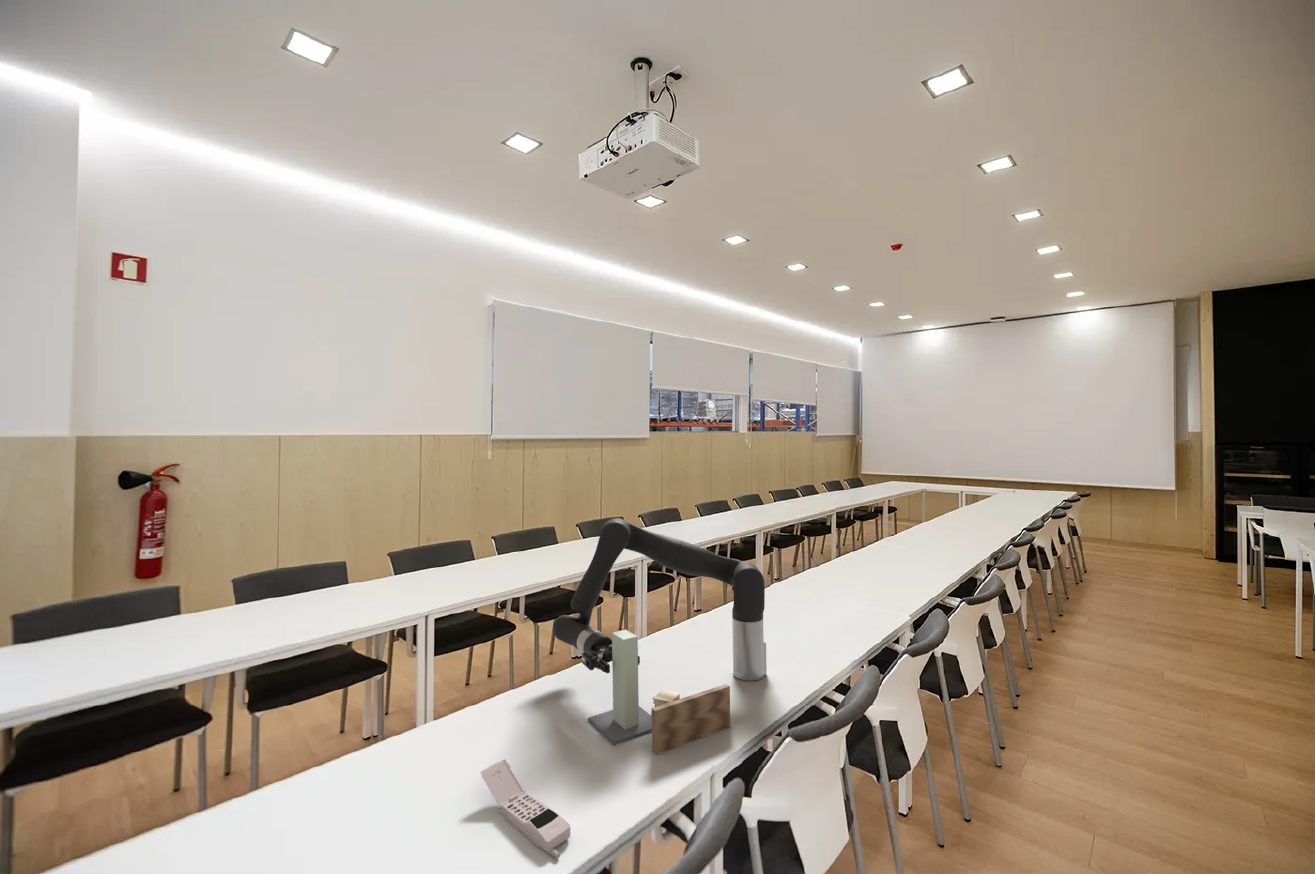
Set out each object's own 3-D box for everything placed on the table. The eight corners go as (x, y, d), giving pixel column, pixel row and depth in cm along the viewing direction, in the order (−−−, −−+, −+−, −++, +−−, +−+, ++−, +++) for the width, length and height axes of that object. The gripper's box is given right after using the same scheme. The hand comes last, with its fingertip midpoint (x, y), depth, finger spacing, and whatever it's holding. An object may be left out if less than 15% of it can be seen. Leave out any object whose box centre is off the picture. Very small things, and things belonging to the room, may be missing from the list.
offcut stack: (659, 704, 150) (658, 688, 150) (682, 708, 148) (682, 691, 148) (650, 717, 143) (650, 699, 143) (675, 721, 141) (674, 703, 141)
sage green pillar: (626, 714, 143) (625, 629, 143) (638, 724, 138) (637, 636, 138) (613, 719, 141) (611, 632, 141) (624, 729, 136) (623, 639, 136)
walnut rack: (710, 713, 144) (709, 674, 144) (730, 726, 138) (729, 686, 138) (637, 738, 132) (637, 697, 132) (655, 754, 126) (655, 710, 126)
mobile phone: (504, 757, 116) (579, 811, 98) (505, 786, 116) (580, 844, 98) (477, 771, 111) (551, 829, 94) (478, 800, 111) (552, 864, 94)
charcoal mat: (635, 704, 149) (634, 702, 149) (663, 727, 138) (663, 724, 138) (587, 719, 142) (587, 717, 142) (613, 744, 130) (613, 742, 130)
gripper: (571, 637, 150) (598, 656, 136) (617, 626, 157) (647, 644, 144) (571, 664, 150) (598, 687, 136) (617, 653, 157) (647, 673, 144)
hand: (623, 665), depth 140 cm, fingers open, 8 cm apart
